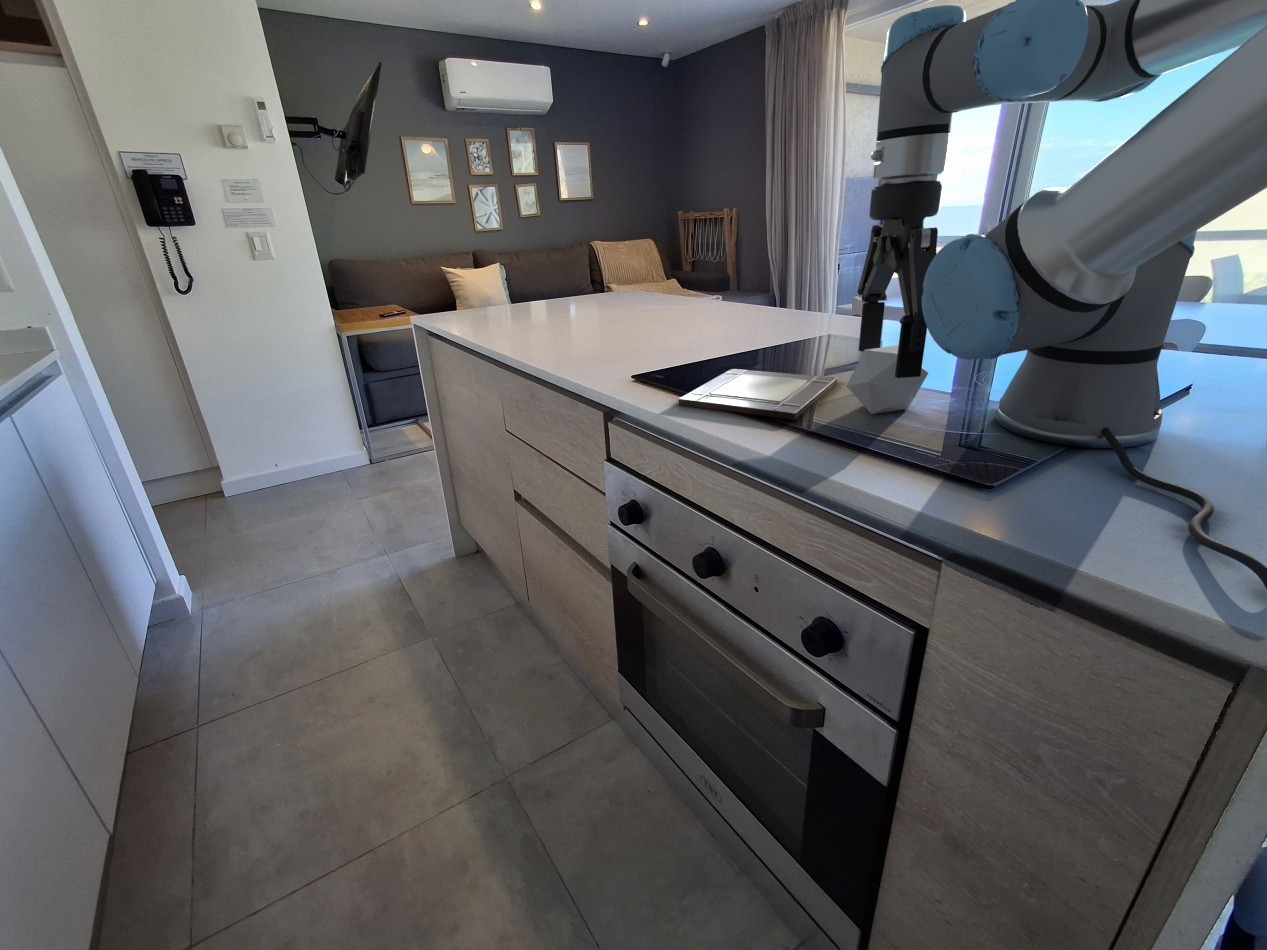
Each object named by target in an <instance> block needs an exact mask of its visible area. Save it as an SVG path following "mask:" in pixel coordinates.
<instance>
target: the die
mask: <svg viewBox="0 0 1267 950" xmlns="http://www.w3.org/2000/svg"><path fill="white" fill-rule="evenodd" d="M898 346H899V344H898V345H891V346H881V347H880V348H875V349H867V350H864V351H862V354H861V355H860V357H859V360H858V361H857V363H856V365H855V367H854V369H853V372H852V374H851V376H850V378H849V379H848V382H847V383H846V387H847V389H848V390H849V391H850V392H851V393H852V394H853V395H854V396H855V398H856V399H857V400H858V401H859V402H860V403H861V404H862V405H863V406H864V407H865V409H867V411H868V412H869V414H871V415H877V414H883V413H890V412H896V411H902V410H909V408H910V406H911V404H912V403H913V401H914V400H915V397H916V396H917V394H918V392H919V391H920V389H921V387H922V385H923V384H924V382H925V380H926V378H927V377H928V375H929V372H928V371H927V370H926V368H924V367H923V366H922V368H921V376H920V377H906V378H896V377H895V371H896V363H897V354H898Z"/></svg>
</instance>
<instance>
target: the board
mask: <svg viewBox="0 0 1267 950" xmlns="http://www.w3.org/2000/svg"><path fill="white" fill-rule="evenodd" d="M837 384H838V377H836V376H835V377H834V376H824V375H823V376H822V375H810V374H809V375H808V374H798V373H788V372H787V373H785V372H777V371H776V372H774V371H764V370H763V371H762V370H754V369H753V370H751V369H741V368H730V369H729V370H727V371H725V372H724V373H721V374H719V375H718V376H716V377H714V378H713V379H711V380H709V381H707V382H706V383H704V384H702V385H700V386H699V387H697V388H695V389H693V390H692V391H690V392H688V393H686V394H684V395H683V396H681V397H679V398H677V400H678V406H685V407H691V408H699V409H706V410H707V409H708V410H715V411H722V412H729V413H737V414H745V415H753V416H759V417H768V418H775V419H783V420H789V421H790V420H791V421H796V420H797V419H798V418H799V417H800V416H801V415H803V414H804V413H805V412H806V411H807V410H808V409H810V408H811V407H812V406H813V405H814V404H815V403H817V402H818V401H819V400H820V399H821V398H822V397H823V396H825V395H826V394H827V393H829V391H830V390H831V389H833V388H834V387H835V386H836V385H837Z"/></svg>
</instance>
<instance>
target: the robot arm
mask: <svg viewBox="0 0 1267 950" xmlns="http://www.w3.org/2000/svg"><path fill="white" fill-rule="evenodd" d="M966 18H967V14H966V11H965V9H964V8H963V7H961V6H960V5H955V4H944V5H936V6H930V7H925V8H922V9H920V10H917V11H911V12H908V13H905V14H903V15H901V16H899V17H898V18H897V19H895V20H894V21H893V22H892V23H891V25H890V26H889V28H888V29H887V30H888V31H887V33H886V41H885V48H884V54H883V60H882V65H881V67H880V75H881V79H880V80H881V81H880V90H879V91H880V92H879V103H878V116H877V117H878V118H877V128H876V129H877V130H876V144H875V150H874V151H872V152H871V154H870V159H871V160H872V161H874V165H873V175H872V177H873V180H874V181H877V182H878V183H877V185H874V186H873V189H871V194H870V205H869V215H868V216H869V218H870V220H873V221H883V222H882V224H875V225H872V227H871V230H870V238H869V245H868V249H867V251H866V252H867V253H866V257H865V261H864V264H863V268H862V271H861V276H860V279H859V284H858V288H857V295H858V296H861V297H860V298H861V302H862V309H861V319H860V328H859V329H860V332H859V340H858V351H859V352H864V350H867V349H875V348H881V344H882V343H881V342H882V333H883V325H884V316H885V315H884V314H885V307H886V302H884V301H887V300H888V296H887V293H886V292H887V290H888V287H889V285H890V283H891V281H892V278H893V276H894V274H897V278H898V284H899V290H900V295H901V300H902V306H903V311H904V312H903V313H904V315H902V317H901V318H900V320H899V321H898V322H899V324H900V331H899V339H898V345H899V346H898V354H897V363H896V371H895V377H896V378H906V377H920V376H921V368H922V367H923V362H924V361H923V360H924V354H925V347H926V339H927V333H928V332H929V334H930V336H931V338H932V339H933V341H934V342H935V344H937V346H939V348H940V349H942V351H944V352H945V353H946V354H949V355H952V356H953V357H956V358H957V359H961V360H969V361H972V360H983V359H984V360H989V359H990V360H994V359H997V358H999V357H1001V356H1003V355H1008V354H1014V353H1019V352H1025V351H1026V354H1025V356H1024V359H1023V361H1022V362H1021V364H1020V366H1019V367H1018V368H1017V371H1016V372H1015V374H1014V375H1013V377H1012V379H1011V381H1010V382H1009V384H1008V386H1007V387H1006V389H1005V391H1004V392H1003V394H1002V395H1001V397H1000V399H999V402H998V405H997V409H996V414H995V420H996V421H997V423H998V424H999V425H1000V426H1002V427H1003V428H1005V429H1006V430H1008V431H1011V432H1013V433H1014V434H1018V435H1019V436H1023V437H1026V438H1030V439H1033V440H1037V441H1041V442H1046V443H1050V444H1056V445H1062V446H1069V447H1078V448H1089V449H1091V448H1092V449H1113V451H1114V453H1115V454H1116V455H1117V458H1118V459H1119V462H1120V464H1121V466H1122V468H1123V469H1124V470H1125V471H1126V472H1127V473H1128V474H1129V475H1131V477H1133V478H1135V479H1136V480H1138V481H1140V482H1142V483H1144V484H1147V485H1148V486H1152V487H1154V488H1157V489H1160V490H1164V491H1167V492H1170V493H1173V494H1176V495H1179V496H1182V497H1185V498H1186V499H1189V500H1191V501H1193V502H1195V503H1196V504H1198V506H1200V507H1201V509H1200V511H1199V512H1198V513H1197V514H1195V515H1194V516H1193V517H1192V518H1191V519H1190V520H1189V524H1188V527H1187V528H1188V531H1189V534H1190V535H1191V537H1192V538H1193V539H1194V540H1195V541H1196V542H1198V543H1199V544H1200V545H1203V547H1205V548H1207V549H1209V550H1212V551H1214V552H1217V553H1219V554H1221V555H1223V556H1226V557H1229V558H1231V559H1233V560H1234V561H1237V562H1239V563H1240V564H1242V565H1244V566H1245V567H1247V568H1248V569H1250V570H1251V571H1252V572H1253V573H1254V574H1255V575H1256V576H1257V577H1258V578H1259V580H1260V581H1261V582H1262V584H1263V586H1264V587H1265V589H1266V590H1267V565H1265V564H1264V563H1262V561H1260V560H1259V559H1257V558H1255V557H1254V556H1252V555H1250V554H1248V553H1247V552H1245V551H1242V550H1240V549H1238V548H1235V547H1232V546H1230V545H1228V544H1225V543H1223V542H1221V541H1219V540H1216V539H1214V538H1212V537H1210V536H1209V535H1207V534H1206V533H1205V532H1204V530H1203V529H1202V526H1203V524H1205V522H1207V521H1208V520H1209V519H1210V518H1211V517H1212V516H1213V513H1214V511H1215V507H1214V504H1213V503H1212V502H1211V501H1210V499H1208V498H1207V497H1206V496H1205V495H1203V494H1201V493H1199V492H1197V491H1194V490H1193V489H1190V488H1186V487H1183V486H1181V485H1178V484H1173V483H1170V482H1168V481H1164V480H1161V479H1158V478H1156V477H1153V476H1150V475H1148V474H1146V473H1144V472H1143V471H1141V470H1139V469H1138V468H1137V467H1136V466H1135V465H1134V464H1133V462H1132V461H1131V459H1130V458H1129V455H1128V453H1127V451H1126V449H1125V448H1129V447H1136V446H1142V445H1145V444H1149V443H1150V442H1153V441H1154V440H1156V439H1157V437H1159V436H1158V435H1159V433H1160V429H1161V428H1162V427H1161V426H1162V423H1163V421H1162V420H1163V410H1162V407H1161V392H1160V391H1161V389H1160V382H1159V381H1160V380H1159V373H1158V362H1159V358H1160V355H1161V351H1162V348H1163V346H1164V343H1165V339H1166V337H1167V333H1168V330H1169V327H1170V323H1171V321H1172V317H1173V314H1174V310H1175V308H1176V305H1177V301H1178V299H1179V295H1180V292H1181V289H1182V286H1183V283H1184V279H1185V277H1186V273H1187V270H1188V266H1189V263H1190V260H1191V258H1192V257H1193V256H1194V253H1195V240H1196V236H1197V232H1198V230H1200V229H1201V228H1203V227H1205V226H1206V225H1208V224H1210V223H1212V222H1213V221H1215V220H1217V219H1218V218H1220V217H1221V216H1223V215H1225V214H1226V213H1228V212H1230V211H1231V210H1232V209H1235V208H1236V207H1238V206H1239V205H1241V204H1243V203H1244V202H1246V201H1248V200H1249V199H1251V198H1252V197H1255V196H1256V195H1258V194H1260V193H1261V192H1263V191H1264V190H1266V189H1267V0H1116V1H1114V2H1111V3H1108V4H1085V3H1084V2H1083V1H1082V0H1015V1H1010V2H1009V3H1008V4H1006V5H1004V6H1001V7H999V8H996V9H994V10H990V11H987V12H985V13H983V14H981V15H978V16H974V17H972V18H969V19H966ZM1236 48H1237V49H1236ZM1234 49H1236V50H1234ZM1231 50H1234V51H1233V52H1232V53H1230V54H1229V55H1228V56H1227V57H1226V58H1224V59H1223V60H1222V61H1220V62H1219V64H1217V65H1216V66H1215V67H1213V68H1212V69H1211V70H1210V71H1209V72H1207V73H1206V74H1205V75H1204V76H1202V77H1201V78H1200V79H1199V80H1198V81H1196V82H1195V83H1194V84H1193V85H1191V86H1190V87H1189V88H1187V89H1186V90H1185V91H1184V92H1183V93H1182V94H1181V95H1179V96H1178V97H1177V98H1175V99H1174V100H1173V101H1172V102H1171V103H1170V104H1168V105H1167V106H1166V107H1165V108H1163V109H1162V110H1161V111H1160V112H1159V113H1157V114H1156V115H1155V116H1154V117H1153V118H1151V119H1150V120H1148V121H1147V123H1145V124H1144V125H1143V126H1142V127H1140V128H1139V129H1138V130H1137V131H1136V132H1134V133H1133V134H1131V136H1129V137H1128V138H1127V139H1126V140H1124V141H1123V142H1122V143H1120V145H1118V146H1117V147H1116V148H1114V149H1113V150H1112V151H1111V152H1110V153H1109V154H1107V155H1106V156H1105V157H1103V159H1101V160H1100V161H1099V162H1098V163H1096V164H1095V165H1094V166H1093V167H1092V168H1090V169H1089V170H1088V171H1087V172H1085V174H1083V175H1082V176H1081V177H1080V178H1078V179H1077V180H1075V182H1073V183H1072V184H1071V185H1069V186H1068V187H1047V188H1044V189H1041V190H1039V191H1037V192H1035V193H1034V194H1032V195H1031V196H1030V197H1028V198H1027V199H1026V200H1024V201H1023V202H1022V203H1021V204H1020V205H1019V206H1017V207H1016V208H1015V209H1014V210H1013V211H1012V212H1010V213H1009V214H1008V215H1007V216H1006V217H1004V218H1003V219H1002V220H1001V221H1000V222H999V223H997V224H996V225H995V226H994V227H993V228H991V229H990V230H988V231H986V232H985V233H982V234H980V233H969V234H968V233H967V234H966V235H965V236H961V237H959V238H956V239H954V240H952V241H950V242H948V243H946V244H945V245H943V246H942V247H941V248H940V249H939V250H938V252H937V248H938V247H937V244H938V234H939V230H938V227H934V226H933V227H924V225H925V223H924V221H925V219H926V218H932V217H935V216H937V215H938V214H939V213H940V209H941V202H942V194H943V189H944V188H943V187H944V183H942V181H943V180H940V179H939V178H940V175H943V174H944V173H945V172H946V170H947V163H948V157H949V148H950V141H951V130H952V121H953V116H954V113H958V112H962V111H967V110H972V109H978V108H984V107H989V106H998V105H1016V104H1018V105H1019V104H1034V103H1035V104H1037V103H1053V102H1055V103H1056V102H1084V101H1085V102H1097V103H1098V102H1099V103H1100V102H1108V101H1111V100H1115V99H1118V98H1126V97H1130V96H1132V95H1135V94H1137V93H1139V92H1141V91H1143V90H1144V89H1146V88H1148V86H1150V85H1151V84H1153V83H1154V81H1156V80H1157V79H1158V78H1159V77H1160V76H1162V75H1164V74H1167V73H1171V72H1173V71H1175V70H1179V69H1181V68H1183V67H1186V66H1189V65H1192V64H1195V63H1198V62H1200V61H1204V60H1206V59H1209V58H1211V57H1215V56H1217V55H1220V54H1222V53H1225V52H1228V51H1231Z"/></svg>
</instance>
